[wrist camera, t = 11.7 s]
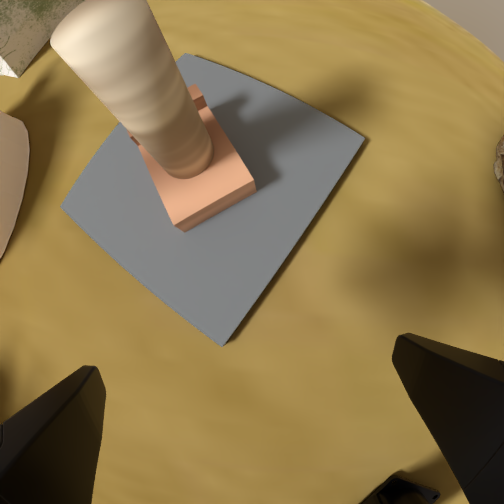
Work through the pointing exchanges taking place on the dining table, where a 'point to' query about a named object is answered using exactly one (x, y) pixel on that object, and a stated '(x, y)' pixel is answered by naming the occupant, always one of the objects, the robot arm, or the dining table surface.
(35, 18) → the grocery bag
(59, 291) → the dining table surface
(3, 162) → the kettle
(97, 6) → the cylinder on pink base
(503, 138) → the bread roll
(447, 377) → the robot arm
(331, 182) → the mat
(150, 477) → the dining table surface
